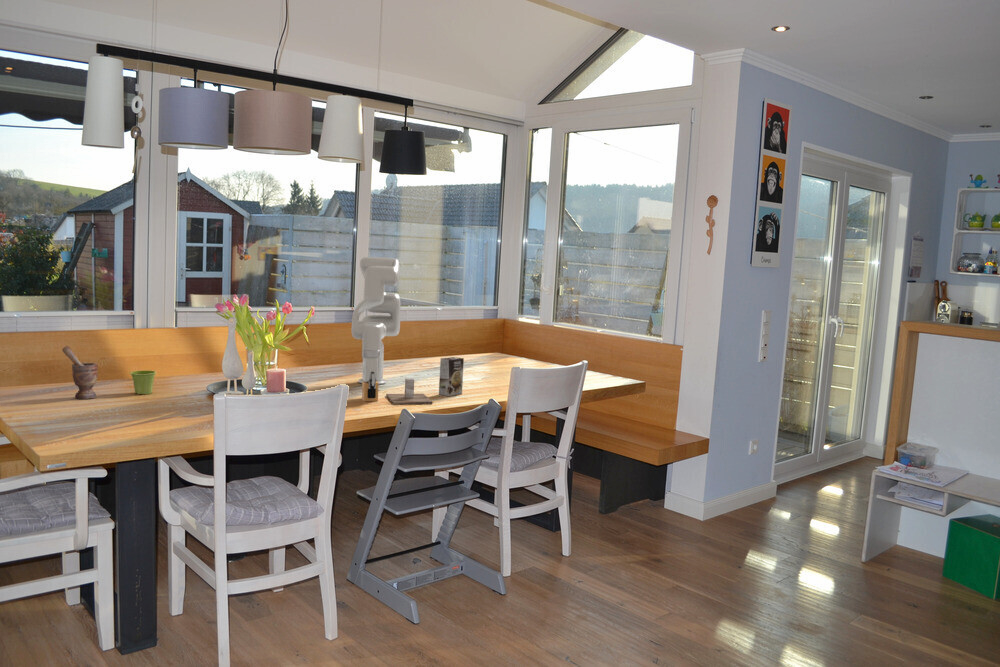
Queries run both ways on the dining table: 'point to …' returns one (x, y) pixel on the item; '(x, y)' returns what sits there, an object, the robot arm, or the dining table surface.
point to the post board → (408, 401)
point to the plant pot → (143, 381)
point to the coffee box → (451, 376)
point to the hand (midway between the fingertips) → (369, 395)
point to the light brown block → (365, 391)
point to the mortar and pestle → (82, 375)
